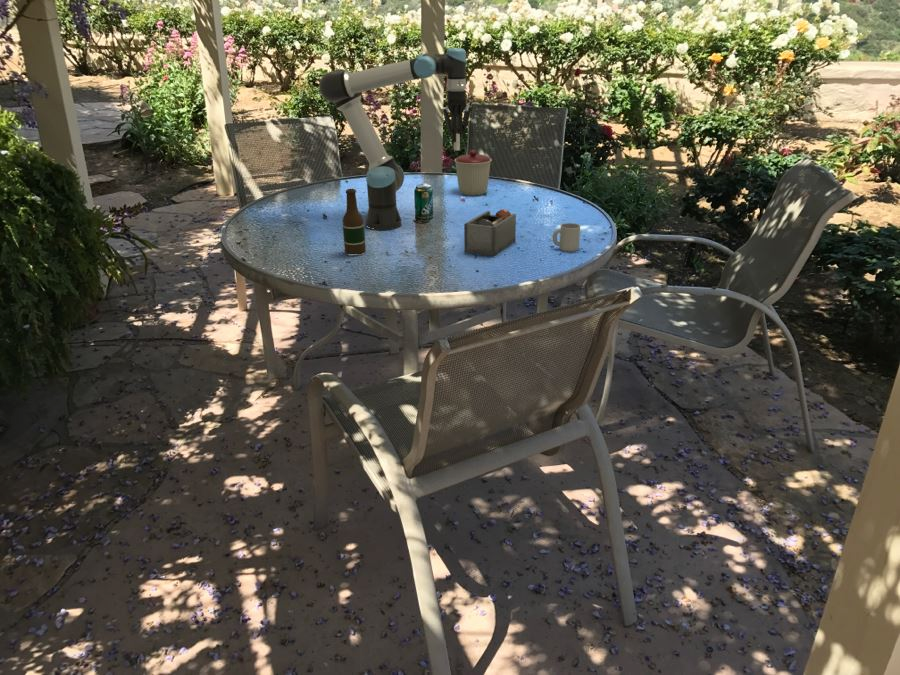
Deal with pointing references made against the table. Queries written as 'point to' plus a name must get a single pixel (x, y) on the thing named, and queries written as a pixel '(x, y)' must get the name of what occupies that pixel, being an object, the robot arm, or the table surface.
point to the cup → (568, 237)
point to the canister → (473, 173)
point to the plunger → (500, 217)
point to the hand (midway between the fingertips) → (456, 149)
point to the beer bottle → (353, 226)
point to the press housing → (489, 235)
